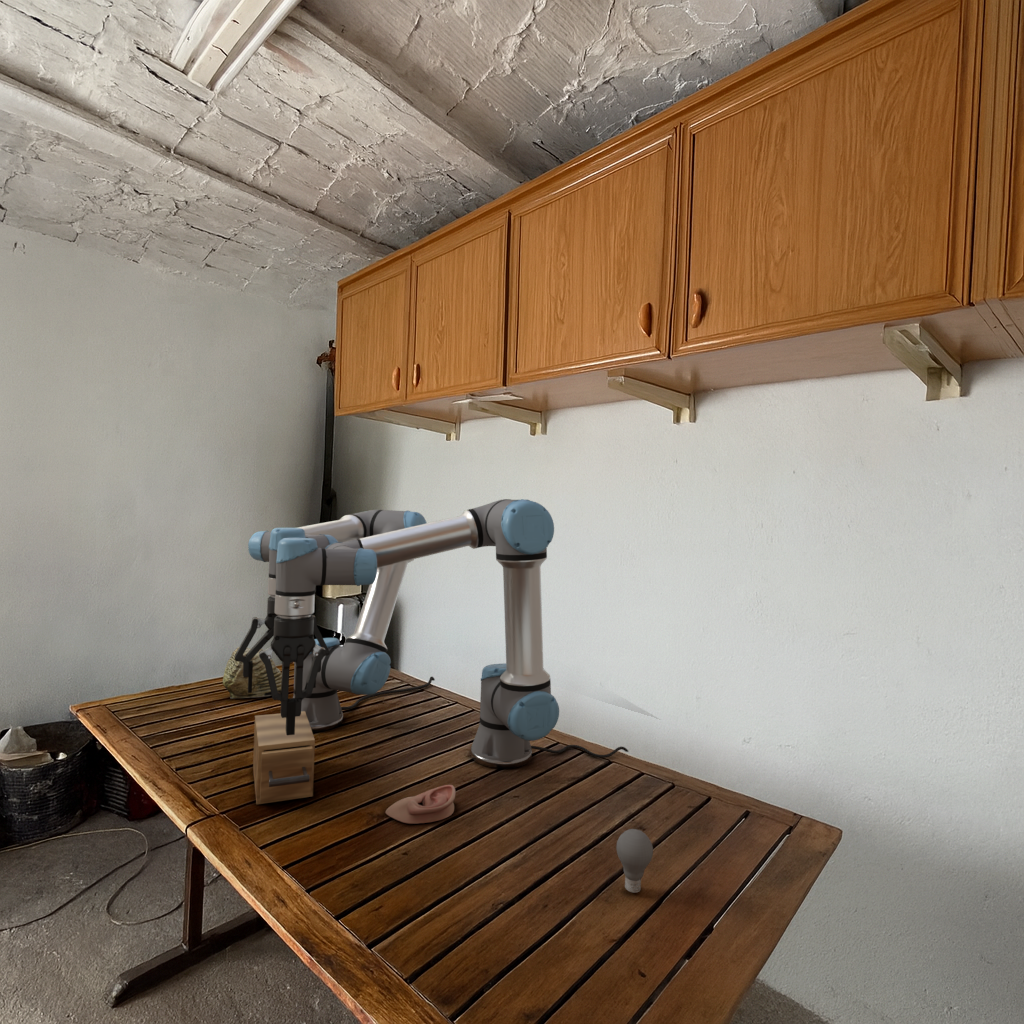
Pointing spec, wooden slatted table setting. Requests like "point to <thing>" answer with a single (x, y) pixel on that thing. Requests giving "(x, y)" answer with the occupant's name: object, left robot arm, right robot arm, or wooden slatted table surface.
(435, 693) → the wooden slatted table surface
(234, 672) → the fossil
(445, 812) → the anatomical model
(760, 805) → the wooden slatted table surface
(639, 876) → the light bulb
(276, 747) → the cabinet
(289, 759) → the drawer
